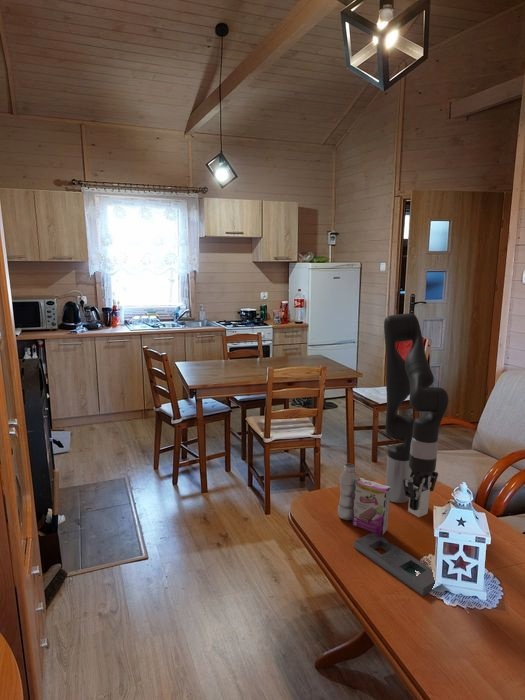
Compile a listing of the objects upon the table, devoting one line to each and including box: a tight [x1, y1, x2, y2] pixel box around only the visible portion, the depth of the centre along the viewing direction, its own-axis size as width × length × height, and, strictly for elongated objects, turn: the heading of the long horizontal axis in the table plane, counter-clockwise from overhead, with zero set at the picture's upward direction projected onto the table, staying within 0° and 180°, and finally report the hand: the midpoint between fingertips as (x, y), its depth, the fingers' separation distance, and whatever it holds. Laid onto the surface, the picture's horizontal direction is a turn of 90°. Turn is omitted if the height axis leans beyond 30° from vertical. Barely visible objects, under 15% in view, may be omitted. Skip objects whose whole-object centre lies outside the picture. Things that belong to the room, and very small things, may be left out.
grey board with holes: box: [353, 532, 435, 597], centre depth 139 cm, size 9×26×2 cm, turn 34°
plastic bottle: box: [337, 463, 359, 521], centre depth 163 cm, size 6×7×20 cm
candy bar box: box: [351, 477, 391, 537], centre depth 157 cm, size 11×5×16 cm, turn 56°
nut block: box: [407, 486, 431, 518], centre depth 138 cm, size 4×4×8 cm
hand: (418, 507), depth 138 cm, fingers closed on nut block, 4 cm apart
